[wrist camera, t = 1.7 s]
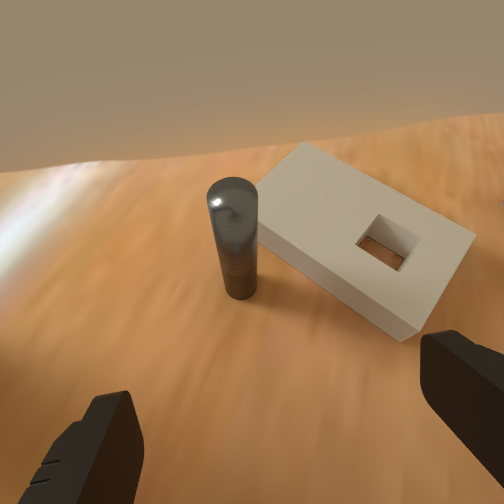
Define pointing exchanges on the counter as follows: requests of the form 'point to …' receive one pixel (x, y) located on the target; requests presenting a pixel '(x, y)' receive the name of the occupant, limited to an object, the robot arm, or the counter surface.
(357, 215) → the peg block
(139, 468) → the robot arm
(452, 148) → the counter surface
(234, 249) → the graphite peg
